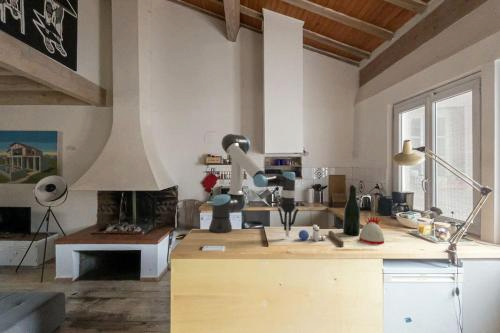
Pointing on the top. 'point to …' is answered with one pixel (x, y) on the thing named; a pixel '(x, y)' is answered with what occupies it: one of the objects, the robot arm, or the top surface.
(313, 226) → the back left pin
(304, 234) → the ball
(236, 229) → the top surface
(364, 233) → the spiked dome hat
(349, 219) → the green wine bottle
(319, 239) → the front pin
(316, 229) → the back right pin
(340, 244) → the back wall
